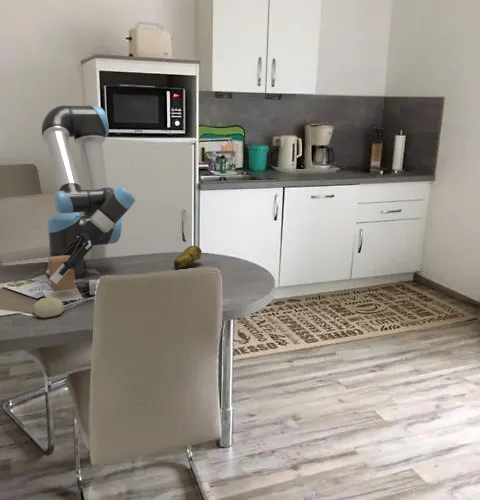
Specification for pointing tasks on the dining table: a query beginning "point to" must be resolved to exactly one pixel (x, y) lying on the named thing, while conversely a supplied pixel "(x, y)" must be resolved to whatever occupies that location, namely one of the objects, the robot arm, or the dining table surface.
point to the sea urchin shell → (48, 307)
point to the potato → (188, 257)
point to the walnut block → (67, 279)
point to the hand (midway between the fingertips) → (51, 277)
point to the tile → (64, 294)
